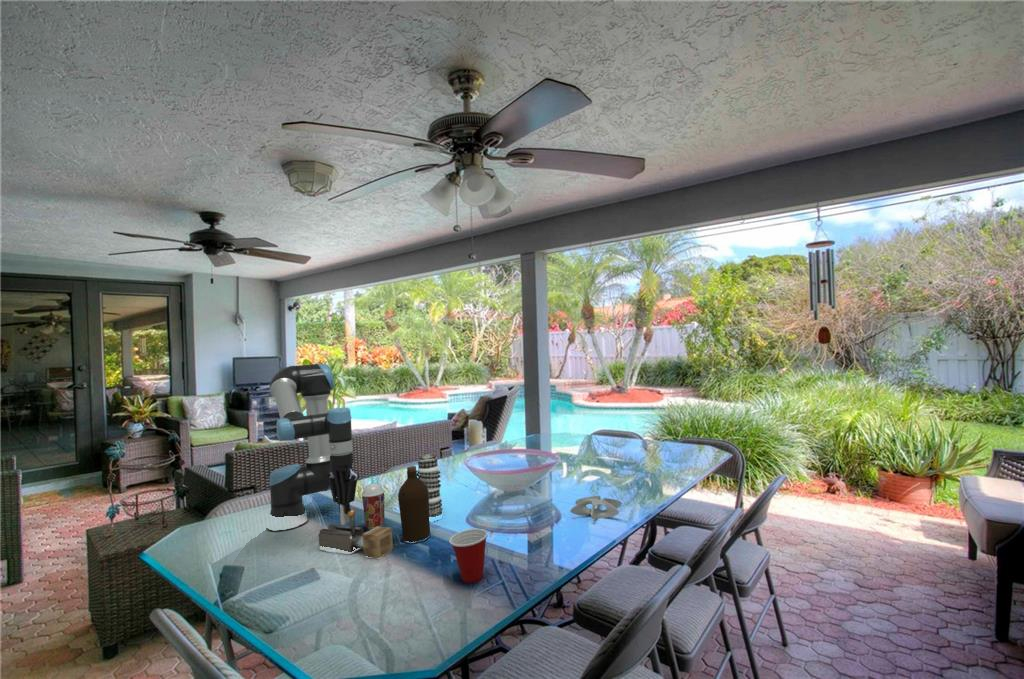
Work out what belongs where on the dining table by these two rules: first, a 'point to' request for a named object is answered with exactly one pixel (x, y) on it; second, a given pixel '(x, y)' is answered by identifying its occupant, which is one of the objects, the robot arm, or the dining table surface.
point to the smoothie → (373, 504)
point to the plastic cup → (470, 553)
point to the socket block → (377, 541)
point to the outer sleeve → (338, 537)
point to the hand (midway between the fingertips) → (345, 522)
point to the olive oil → (414, 507)
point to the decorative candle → (431, 482)
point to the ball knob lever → (356, 539)
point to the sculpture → (596, 513)
